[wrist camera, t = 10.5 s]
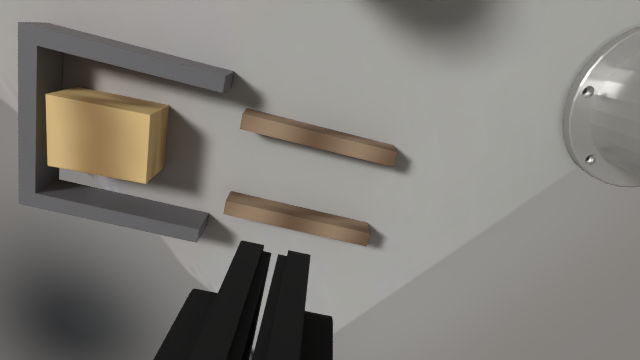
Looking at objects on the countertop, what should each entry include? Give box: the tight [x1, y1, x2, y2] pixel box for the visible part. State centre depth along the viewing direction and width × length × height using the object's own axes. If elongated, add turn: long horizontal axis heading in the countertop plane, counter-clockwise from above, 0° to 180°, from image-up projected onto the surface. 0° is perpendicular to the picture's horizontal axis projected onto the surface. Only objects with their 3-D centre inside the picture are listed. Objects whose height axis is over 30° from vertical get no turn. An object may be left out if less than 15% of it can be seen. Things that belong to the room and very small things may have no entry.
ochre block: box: [46, 87, 169, 184], centre depth 30 cm, size 7×5×4 cm
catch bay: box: [18, 22, 234, 242], centre depth 31 cm, size 14×13×3 cm
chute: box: [224, 108, 398, 246], centre depth 32 cm, size 12×8×2 cm
